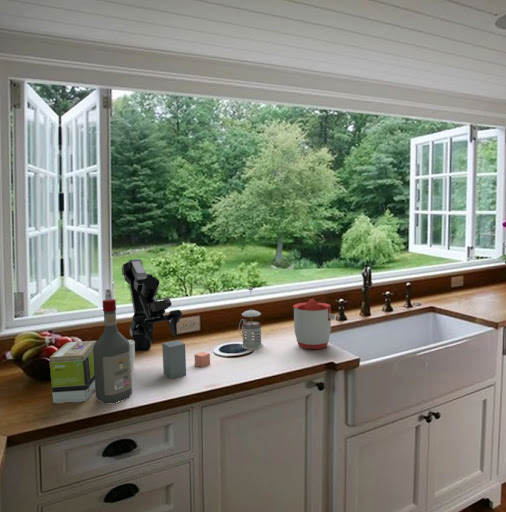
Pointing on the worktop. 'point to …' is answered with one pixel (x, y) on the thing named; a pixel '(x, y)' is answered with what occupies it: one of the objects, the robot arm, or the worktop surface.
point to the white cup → (132, 353)
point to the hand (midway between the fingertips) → (164, 339)
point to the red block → (202, 359)
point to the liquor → (112, 360)
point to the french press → (251, 330)
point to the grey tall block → (174, 359)
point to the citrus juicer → (312, 324)
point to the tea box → (73, 372)
